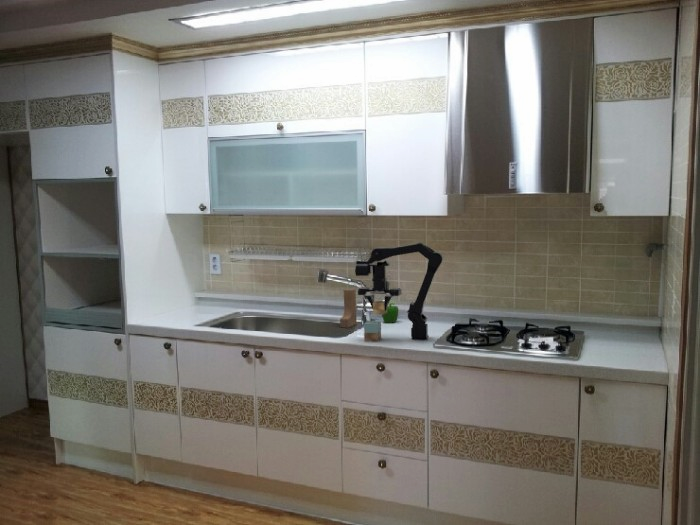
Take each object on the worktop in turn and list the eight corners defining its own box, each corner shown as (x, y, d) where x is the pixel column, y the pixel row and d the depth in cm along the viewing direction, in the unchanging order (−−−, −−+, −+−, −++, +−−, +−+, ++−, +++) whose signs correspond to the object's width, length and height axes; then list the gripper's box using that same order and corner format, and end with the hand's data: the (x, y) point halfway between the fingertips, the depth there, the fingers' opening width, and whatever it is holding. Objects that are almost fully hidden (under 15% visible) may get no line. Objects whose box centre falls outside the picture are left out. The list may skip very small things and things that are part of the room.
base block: (381, 339, 275) (380, 330, 275) (377, 342, 269) (377, 333, 269) (368, 338, 277) (367, 329, 276) (364, 341, 271) (364, 332, 271)
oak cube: (387, 312, 277) (386, 301, 277) (383, 314, 272) (383, 303, 272) (376, 311, 279) (376, 300, 278) (373, 313, 274) (372, 302, 273)
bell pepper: (378, 322, 312) (377, 302, 311) (389, 319, 317) (389, 300, 316) (390, 324, 306) (389, 304, 305) (401, 321, 311) (401, 302, 310)
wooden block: (347, 328, 301) (346, 291, 299) (339, 327, 303) (338, 290, 301) (357, 324, 308) (355, 288, 307) (349, 324, 311) (347, 288, 309)
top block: (381, 330, 275) (380, 321, 274) (377, 333, 269) (377, 323, 268) (368, 329, 276) (367, 320, 276) (364, 332, 271) (364, 323, 270)
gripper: (404, 273, 278) (404, 308, 280) (364, 273, 284) (365, 307, 286) (397, 277, 268) (398, 312, 269) (356, 276, 274) (357, 311, 276)
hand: (379, 310), depth 275 cm, fingers closed on oak cube, 5 cm apart
